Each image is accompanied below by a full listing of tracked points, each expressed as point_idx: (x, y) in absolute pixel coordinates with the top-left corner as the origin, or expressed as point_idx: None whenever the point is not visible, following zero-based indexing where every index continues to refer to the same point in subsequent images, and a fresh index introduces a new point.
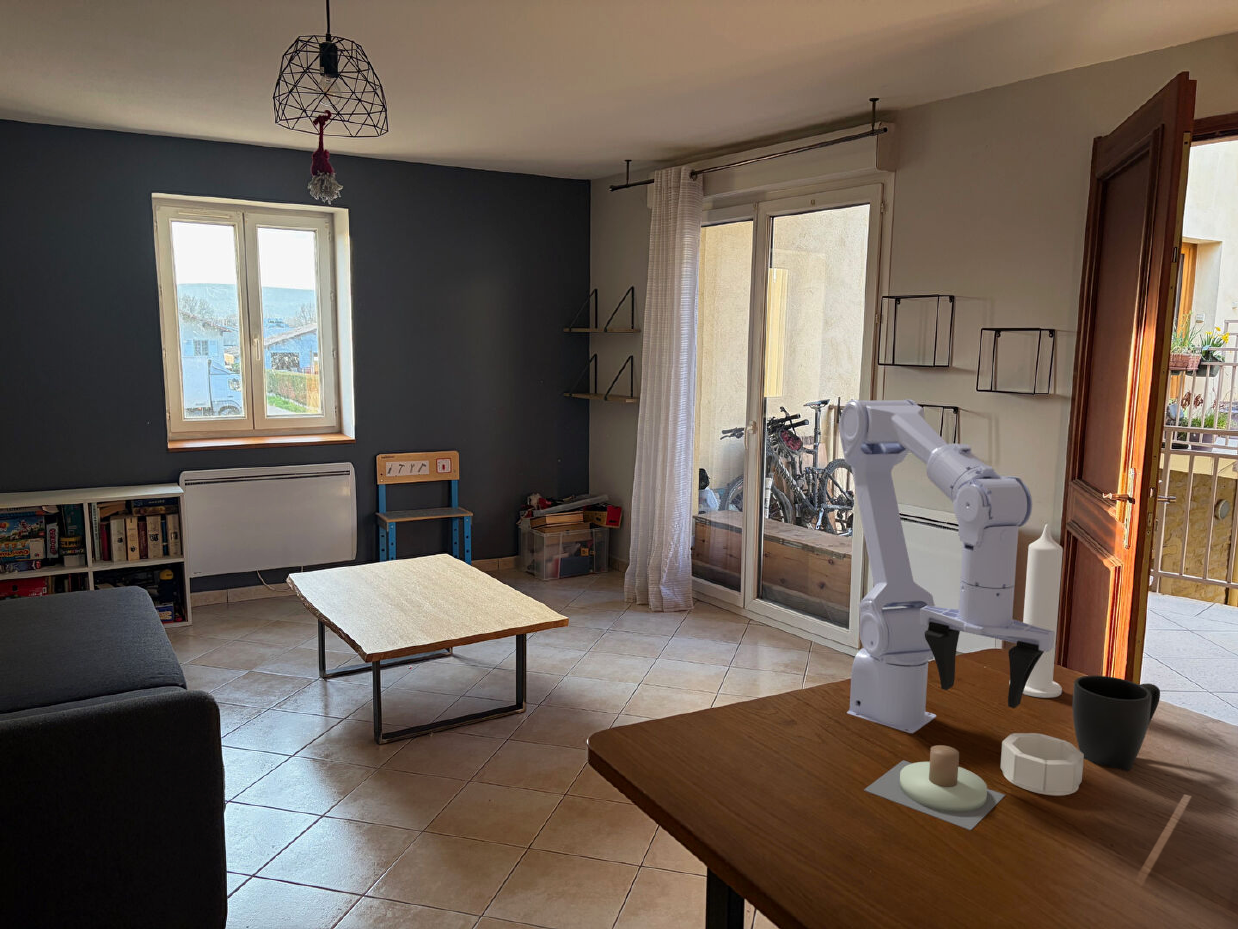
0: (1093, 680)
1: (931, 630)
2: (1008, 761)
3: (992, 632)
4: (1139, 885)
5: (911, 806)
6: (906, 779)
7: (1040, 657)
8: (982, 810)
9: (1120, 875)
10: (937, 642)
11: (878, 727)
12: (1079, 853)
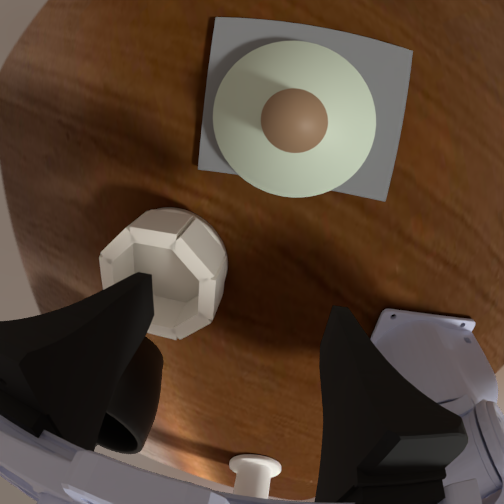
0: (132, 446)
1: (431, 470)
2: (202, 243)
3: (56, 466)
4: (39, 69)
5: (324, 32)
6: (356, 84)
7: (243, 493)
8: (215, 89)
9: (52, 73)
10: (405, 414)
11: (432, 312)
12: (89, 84)
